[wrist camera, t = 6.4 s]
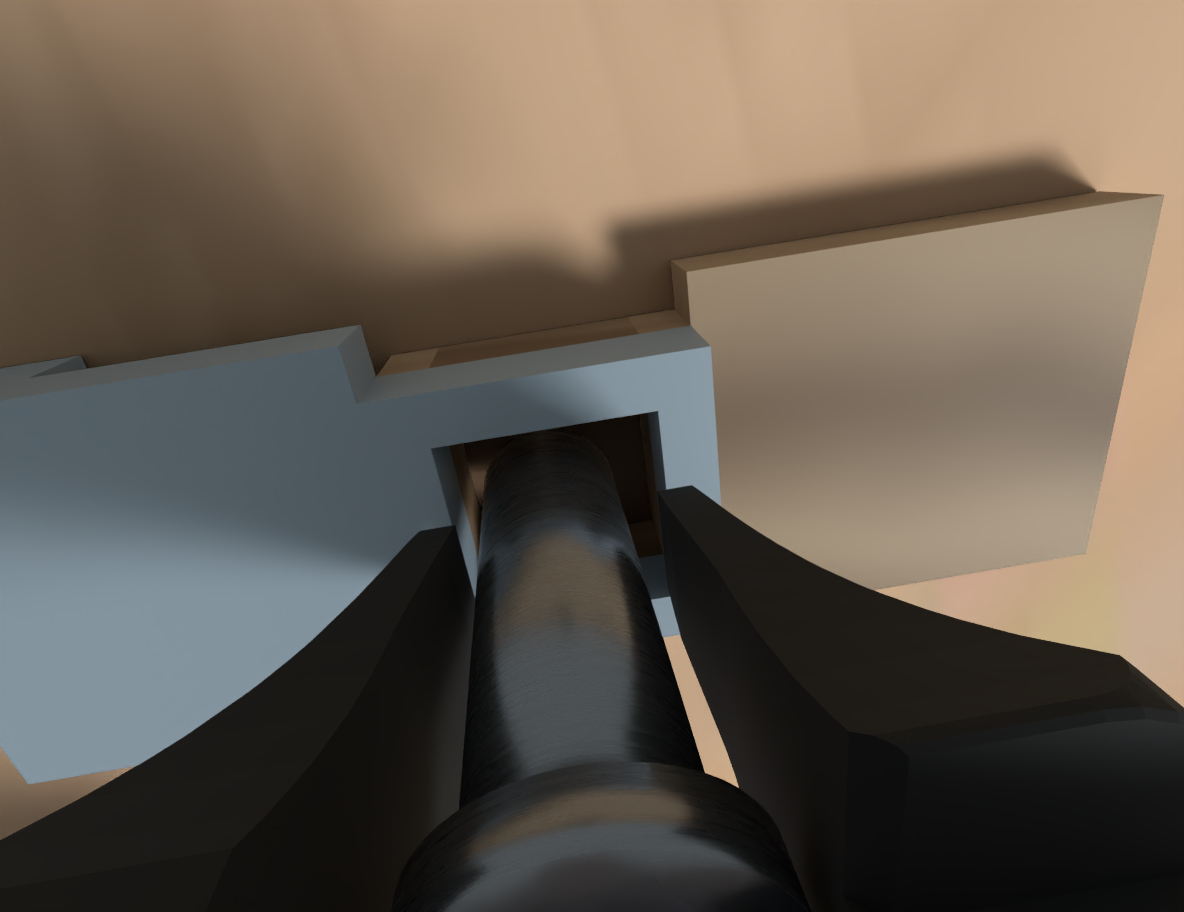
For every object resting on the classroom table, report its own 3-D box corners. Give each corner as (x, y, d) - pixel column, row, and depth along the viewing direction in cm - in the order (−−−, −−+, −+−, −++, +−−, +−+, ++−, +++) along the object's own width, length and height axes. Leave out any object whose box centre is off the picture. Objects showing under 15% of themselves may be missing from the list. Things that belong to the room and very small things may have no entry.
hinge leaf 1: (698, 580, 17) (731, 663, 14) (112, 680, 16) (28, 784, 14) (670, 260, 13) (707, 286, 10) (-71, 379, 13) (-232, 438, 10)
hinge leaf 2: (1040, 521, 17) (1085, 554, 15) (466, 619, 16) (460, 660, 15) (1099, 191, 13) (1164, 194, 12) (378, 307, 13) (360, 324, 12)
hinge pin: (646, 543, 14) (823, 1060, 6) (481, 575, 14) (442, 1144, 6) (624, 389, 12) (826, 814, 4) (438, 423, 12) (308, 924, 4)
